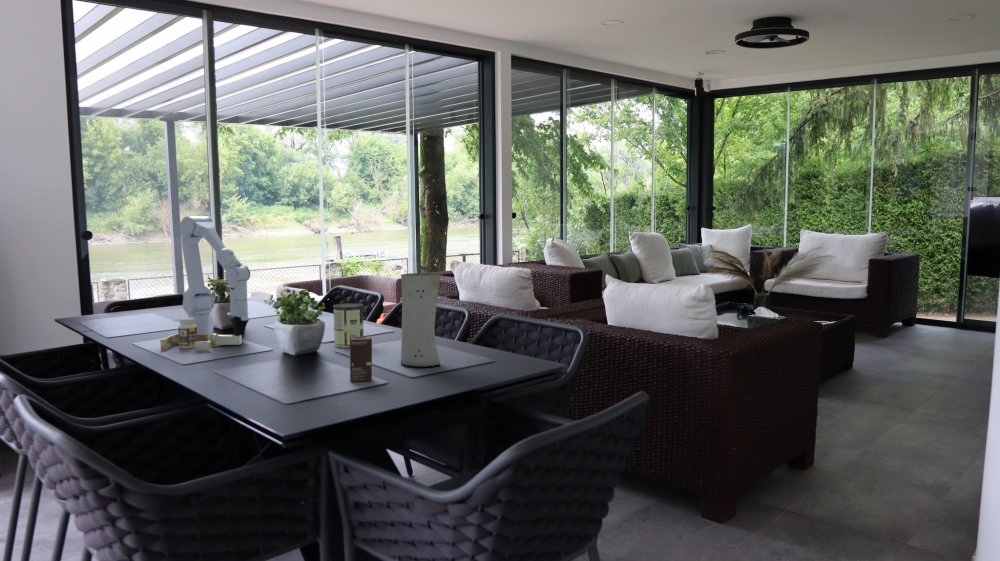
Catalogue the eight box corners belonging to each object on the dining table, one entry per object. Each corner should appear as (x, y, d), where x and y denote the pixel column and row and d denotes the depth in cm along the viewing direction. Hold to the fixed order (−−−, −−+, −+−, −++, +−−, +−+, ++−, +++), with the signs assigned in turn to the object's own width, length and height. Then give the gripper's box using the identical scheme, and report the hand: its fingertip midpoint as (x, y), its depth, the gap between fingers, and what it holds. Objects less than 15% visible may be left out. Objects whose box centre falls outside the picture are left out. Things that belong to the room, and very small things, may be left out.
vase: (450, 365, 225) (452, 274, 223) (417, 370, 215) (418, 276, 213) (423, 359, 233) (424, 272, 231) (389, 364, 223) (390, 273, 221)
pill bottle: (192, 349, 244) (191, 319, 243) (175, 348, 244) (174, 319, 243) (200, 345, 250) (199, 317, 249) (183, 345, 250) (182, 317, 249)
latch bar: (208, 344, 250) (208, 335, 249) (211, 343, 252) (211, 333, 252) (239, 344, 250) (239, 335, 250) (241, 343, 253) (241, 333, 253)
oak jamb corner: (173, 343, 253) (173, 334, 253) (207, 343, 254) (207, 333, 253) (160, 350, 242) (160, 339, 241) (196, 350, 242) (196, 339, 242)
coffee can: (348, 341, 261) (348, 302, 259) (370, 344, 255) (369, 304, 254) (327, 345, 252) (326, 305, 251) (349, 349, 247) (348, 307, 245)
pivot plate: (209, 344, 253) (209, 343, 253) (223, 344, 254) (223, 343, 254) (205, 346, 249) (205, 346, 249) (218, 346, 249) (218, 346, 249)
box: (350, 382, 200) (349, 339, 199) (350, 379, 204) (349, 336, 203) (372, 381, 201) (372, 338, 200) (371, 378, 206) (371, 336, 204)
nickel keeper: (199, 349, 244) (198, 339, 244) (213, 349, 244) (213, 339, 244) (194, 351, 240) (194, 342, 240) (209, 351, 241) (209, 341, 240)
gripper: (221, 298, 259) (222, 336, 261) (232, 303, 248) (233, 342, 249) (241, 297, 263) (242, 334, 265) (253, 301, 252) (254, 340, 253)
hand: (239, 338), depth 257 cm, fingers closed
